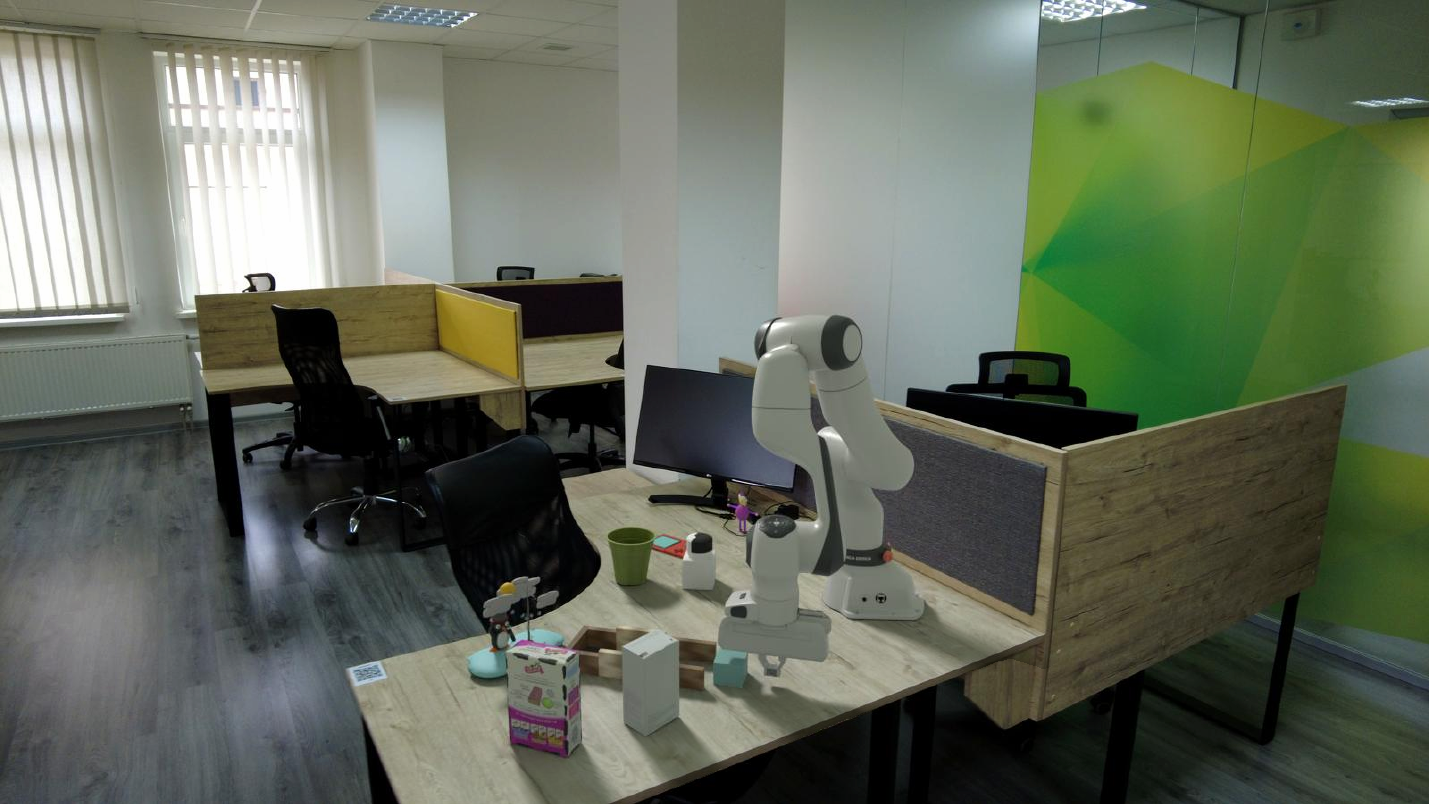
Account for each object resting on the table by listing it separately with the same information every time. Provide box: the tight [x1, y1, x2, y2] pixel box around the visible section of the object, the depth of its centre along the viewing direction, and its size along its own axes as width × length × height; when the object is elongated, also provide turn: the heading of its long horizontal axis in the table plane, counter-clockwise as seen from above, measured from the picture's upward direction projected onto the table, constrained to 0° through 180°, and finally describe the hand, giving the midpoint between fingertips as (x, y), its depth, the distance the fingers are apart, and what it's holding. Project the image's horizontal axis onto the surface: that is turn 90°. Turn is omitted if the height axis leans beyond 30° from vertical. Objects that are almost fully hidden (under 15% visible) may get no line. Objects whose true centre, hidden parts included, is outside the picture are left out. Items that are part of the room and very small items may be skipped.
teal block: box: [712, 647, 749, 688], centre depth 158 cm, size 6×6×4 cm
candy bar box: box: [505, 640, 583, 758], centre depth 137 cm, size 11×5×16 cm, turn 69°
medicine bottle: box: [681, 532, 717, 591], centre depth 198 cm, size 7×7×12 cm
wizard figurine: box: [726, 490, 759, 534], centre depth 231 cm, size 11×3×12 cm, turn 45°
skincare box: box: [622, 628, 680, 737], centre depth 143 cm, size 8×6×15 cm
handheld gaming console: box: [651, 533, 687, 560], centre depth 221 cm, size 9×1×15 cm
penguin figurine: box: [466, 576, 565, 679], centre depth 164 cm, size 20×11×15 cm, turn 135°
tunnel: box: [565, 624, 718, 691], centre depth 162 cm, size 27×11×5 cm, turn 77°
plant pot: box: [605, 526, 657, 586], centre depth 200 cm, size 12×12×11 cm
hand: (772, 675), depth 156 cm, fingers closed
